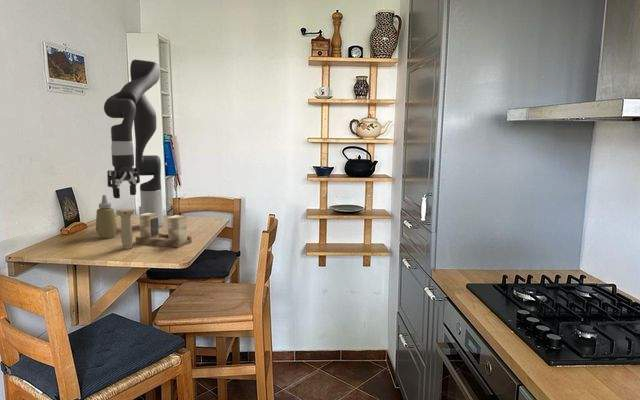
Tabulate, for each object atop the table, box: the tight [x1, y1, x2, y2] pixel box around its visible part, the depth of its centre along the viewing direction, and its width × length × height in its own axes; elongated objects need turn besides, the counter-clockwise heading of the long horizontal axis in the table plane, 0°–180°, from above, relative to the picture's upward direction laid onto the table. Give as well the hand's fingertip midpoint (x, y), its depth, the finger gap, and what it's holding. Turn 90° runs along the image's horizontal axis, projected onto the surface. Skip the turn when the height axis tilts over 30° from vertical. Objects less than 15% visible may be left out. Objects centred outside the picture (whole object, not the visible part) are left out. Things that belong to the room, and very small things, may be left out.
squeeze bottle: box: [95, 194, 118, 239], centre depth 183 cm, size 8×8×18 cm
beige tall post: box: [115, 208, 136, 250], centre depth 167 cm, size 5×6×15 cm
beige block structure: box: [134, 213, 192, 249], centre depth 177 cm, size 20×9×11 cm, turn 73°
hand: (125, 196), depth 165 cm, fingers open, 8 cm apart
